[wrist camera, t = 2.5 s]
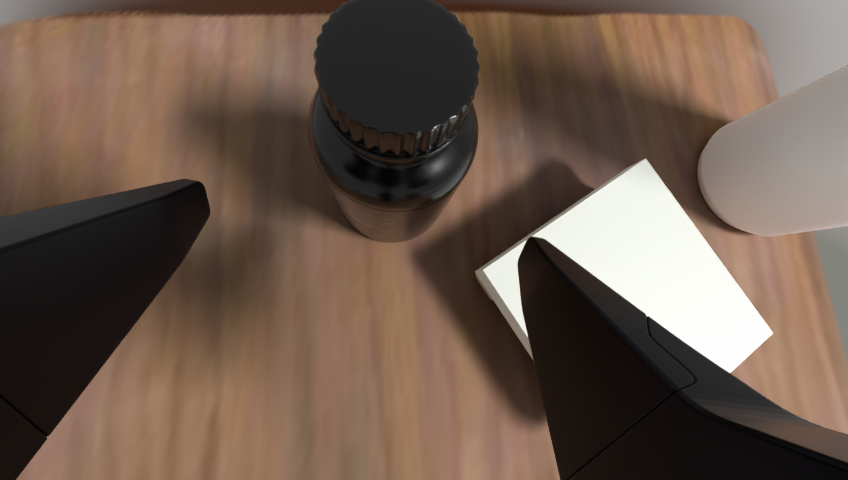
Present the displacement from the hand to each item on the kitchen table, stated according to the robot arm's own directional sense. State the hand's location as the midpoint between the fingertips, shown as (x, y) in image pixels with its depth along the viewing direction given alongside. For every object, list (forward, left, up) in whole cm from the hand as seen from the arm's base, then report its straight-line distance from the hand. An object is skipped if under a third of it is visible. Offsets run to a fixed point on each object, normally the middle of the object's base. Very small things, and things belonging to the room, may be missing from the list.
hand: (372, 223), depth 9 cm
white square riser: (+10, -10, -11) cm, 18 cm away
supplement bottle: (+3, +3, -11) cm, 12 cm away
